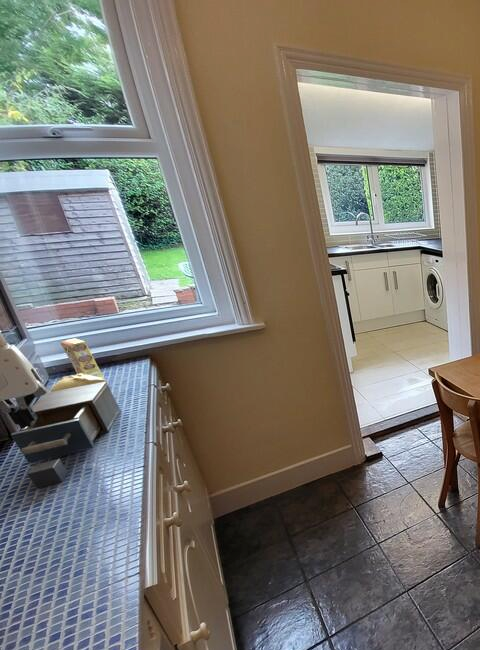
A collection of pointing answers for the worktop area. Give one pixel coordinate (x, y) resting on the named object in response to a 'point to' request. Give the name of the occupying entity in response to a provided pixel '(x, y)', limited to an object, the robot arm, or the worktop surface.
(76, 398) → the cabinet
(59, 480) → the block
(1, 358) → the robot arm
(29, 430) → the drawer
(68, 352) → the candy box
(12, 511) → the worktop surface
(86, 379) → the sculpture
